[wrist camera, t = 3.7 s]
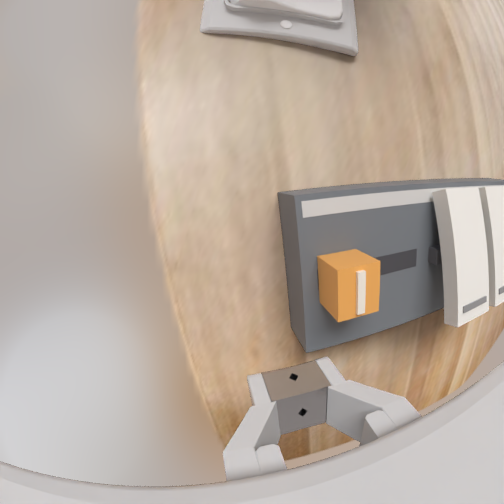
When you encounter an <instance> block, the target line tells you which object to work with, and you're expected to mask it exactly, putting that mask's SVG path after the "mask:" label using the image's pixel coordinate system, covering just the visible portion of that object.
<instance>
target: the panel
mask: <svg viewBox="0 0 504 504" xmlns="http://www.w3.org/2000/svg"><path fill="white" fill-rule="evenodd" d="M491 186H504V180H501V179H492V178H459V179H429V180H408V181H392V182H377V183H364V184H353V185H341V186H331V187H321V188H312V189H303V190H294V191H286V192H278V200H279V209H280V217H281V226H282V236H283V245H284V255H285V265H286V275H287V286H288V297H289V309H290V321H291V328H292V330H293V331H294V333H295V335H296V336H297V338H298V340H299V342H300V343H301V345H302V347H303V348H304V350H305V352H306V353H308V352H312V351H316V350H320V349H323V348H327V347H331V346H334V345H338V344H341V343H345V342H348V341H352V340H355V339H358V338H361V337H365V336H368V335H371V334H374V333H377V332H380V331H383V330H386V329H389V328H392V327H395V326H397V325H400V324H403V323H406V322H409V321H411V320H414V319H417V318H419V317H422V316H424V315H427V314H429V313H432V312H434V311H437V310H439V309H442V308H444V287H443V271H442V259H441V249H440V240H439V232H438V225H437V219H436V212H435V207H434V201H433V196H432V192H436V191H440V190H443V189H452V188H469V187H478V188H482V187H491ZM352 249H357V250H359V251H361V252H363V253H365V254H367V255H369V256H371V257H373V258H375V259H377V260H379V261H380V295H379V311H377V312H374V313H370V314H367V315H363V316H360V317H356V318H353V319H349V320H345V321H342V322H337V321H336V319H335V318H334V317H333V316H332V315H331V314H330V313H329V312H328V311H327V310H326V309H325V307H324V306H323V305H322V304H321V303H320V301H319V279H318V262H317V256H320V255H326V254H331V253H336V252H342V251H347V250H352Z"/></svg>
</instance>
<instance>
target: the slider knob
mask: <svg viewBox="0 0 504 504" xmlns="http://www.w3.org/2000/svg"><path fill="white" fill-rule="evenodd" d="M317 262H318V279H319V301H320V303H321V304H322V305H323V306H324V307H325V309H326V310H327V311H328V312H329V313H330V314H331V315H332V316H333V317H334V318H335V319H336V321H337V322H342V321H345V320H349V319H353V318H356V317H360V316H363V315H367V314H370V313H374V312H377V311H379V295H380V261H379V260H377V259H375V258H373V257H371V256H369V255H367V254H365V253H363V252H361V251H359V250H357V249H352V250H347V251H342V252H336V253H331V254H326V255H320V256H317Z"/></svg>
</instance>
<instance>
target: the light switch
mask: <svg viewBox="0 0 504 504" xmlns="http://www.w3.org/2000/svg"><path fill="white" fill-rule="evenodd" d="M229 1H230V3H229ZM229 1H228V0H205V1H204V7H203V13H202V19H201V25H200V32H202V33H216V34H232V35H244V36H254V37H262V38H269V39H276V40H282V41H288V42H294V43H299V44H304V45H309V46H313V47H318V48H322V49H326V50H331V51H335V52H339V53H343V54H347V55H351V56H356V55H357V54H358V40H357V27H356V17H355V8H354V0H229Z"/></svg>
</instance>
